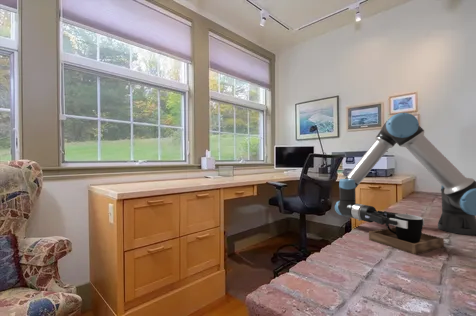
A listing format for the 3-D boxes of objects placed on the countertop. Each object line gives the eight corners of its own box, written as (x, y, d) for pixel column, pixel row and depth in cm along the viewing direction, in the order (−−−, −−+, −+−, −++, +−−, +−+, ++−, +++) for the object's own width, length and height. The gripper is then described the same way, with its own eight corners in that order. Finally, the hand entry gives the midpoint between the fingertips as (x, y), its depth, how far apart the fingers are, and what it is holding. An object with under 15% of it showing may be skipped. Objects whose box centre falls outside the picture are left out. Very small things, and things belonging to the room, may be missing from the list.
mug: (424, 242, 92) (425, 217, 92) (419, 247, 86) (420, 220, 86) (389, 234, 101) (390, 211, 101) (383, 238, 95) (383, 214, 95)
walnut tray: (396, 234, 106) (396, 226, 106) (443, 247, 89) (443, 238, 89) (369, 239, 98) (368, 231, 99) (415, 254, 82) (415, 244, 82)
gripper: (380, 218, 115) (432, 230, 94) (347, 223, 106) (397, 236, 86) (380, 203, 115) (432, 211, 95) (347, 206, 106) (396, 216, 86)
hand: (415, 223), depth 90 cm, fingers open, 10 cm apart
